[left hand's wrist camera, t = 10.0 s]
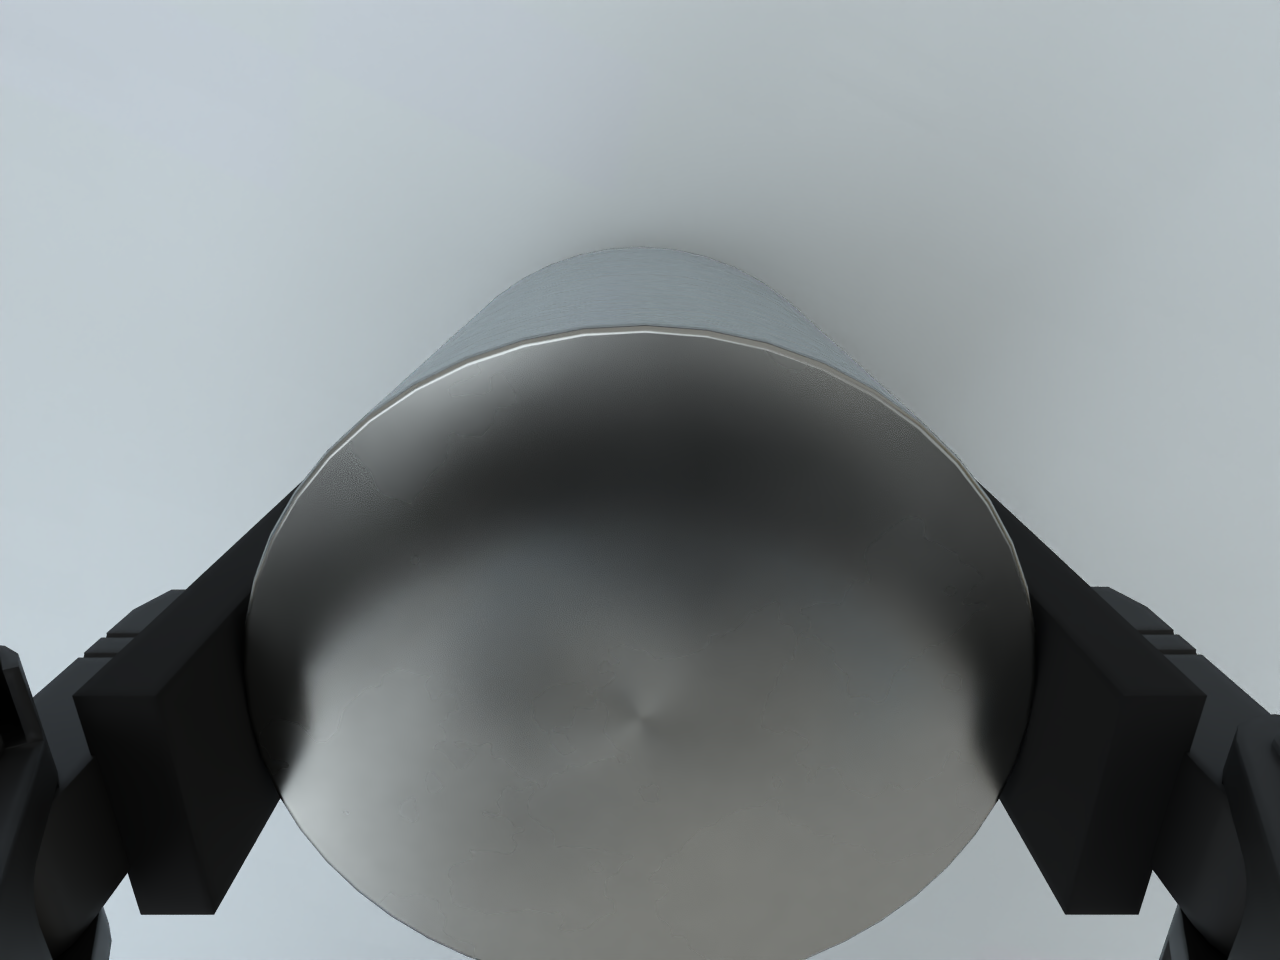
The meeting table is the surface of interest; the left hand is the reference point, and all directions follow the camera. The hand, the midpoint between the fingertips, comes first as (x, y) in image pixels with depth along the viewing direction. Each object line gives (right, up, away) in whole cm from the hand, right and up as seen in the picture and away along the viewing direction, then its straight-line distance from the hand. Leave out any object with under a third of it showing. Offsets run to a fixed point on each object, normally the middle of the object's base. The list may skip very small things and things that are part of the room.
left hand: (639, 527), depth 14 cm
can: (0, +1, +2) cm, 3 cm away
